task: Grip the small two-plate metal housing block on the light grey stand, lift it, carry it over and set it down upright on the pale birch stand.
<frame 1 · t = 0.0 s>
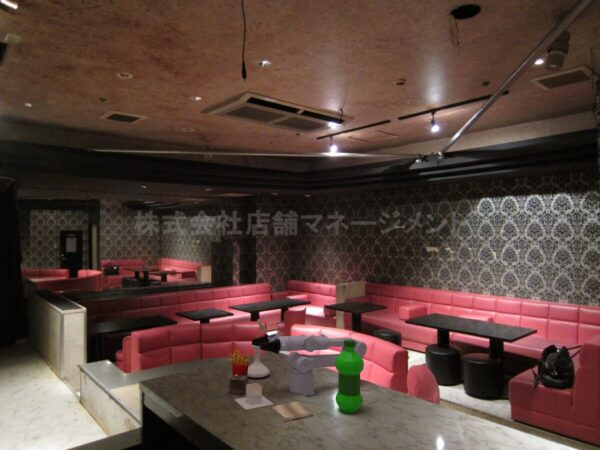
hand: (256, 344, 161), 22 cm above the table, tool horizontal, fingers open, 7 cm apart
flower in vase: (257, 375, 192), on the table
french fries: (237, 388, 176), on the table
box: (238, 396, 166), on the table
plastic bottle: (348, 410, 154), on the table
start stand: (253, 405, 157), on the table
housing: (253, 401, 157), point 1 cm above the table, touching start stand
stand: (291, 413, 150), on the table
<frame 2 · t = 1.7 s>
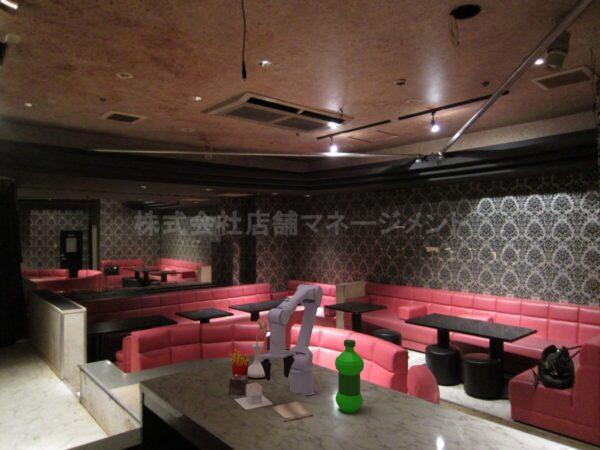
hand: (277, 378, 156), 10 cm above the table, tool pointing down, fingers open, 7 cm apart
nothing on the table moved.
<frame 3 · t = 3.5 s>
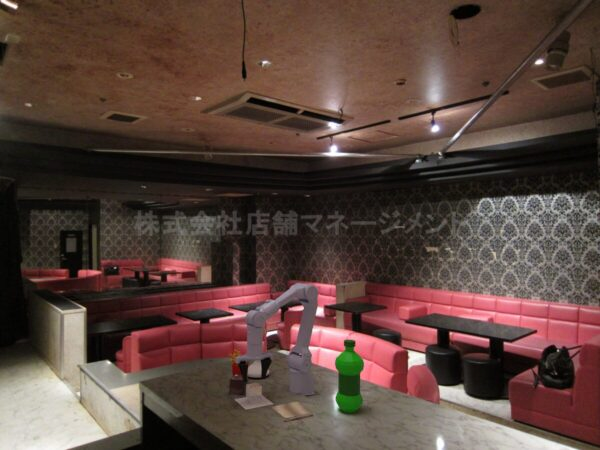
hand: (254, 380, 157), 9 cm above the table, tool pointing down, fingers open, 7 cm apart
nothing on the table moved.
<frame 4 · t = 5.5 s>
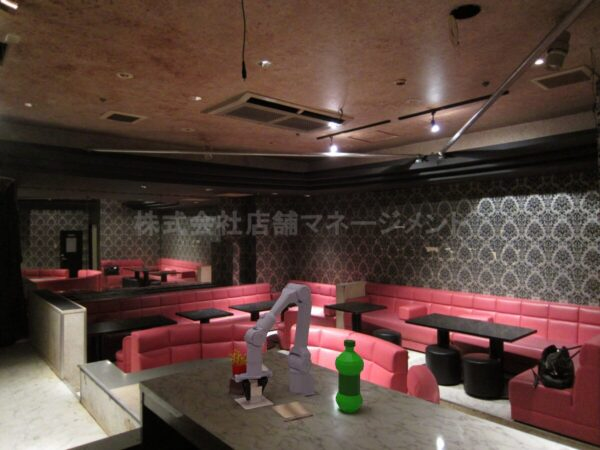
hand: (253, 398, 157), 3 cm above the table, tool pointing down, fingers closed on housing, 4 cm apart
housing: (253, 401, 157), point 1 cm above the table, touching gripper, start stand
everything else where it was.
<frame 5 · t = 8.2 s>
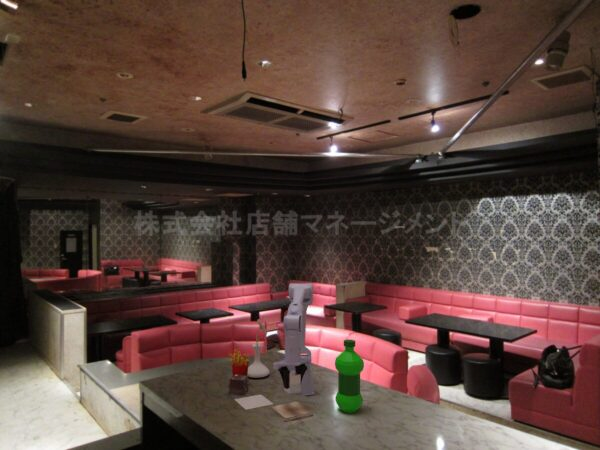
hand: (292, 386, 150), 9 cm above the table, tool pointing down, fingers closed on housing, 4 cm apart
housing: (292, 390, 150), point 8 cm above the table, touching gripper
everything else where it was.
when the fingers open (4 cm above the table, at t = 11.0 s): housing stays where it is, resting on stand.
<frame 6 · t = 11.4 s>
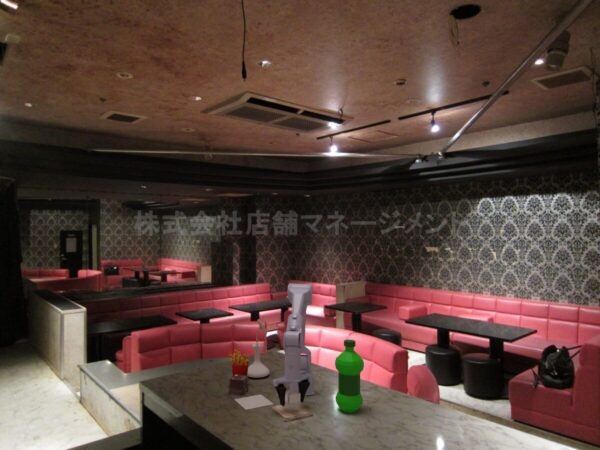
hand: (291, 403, 150), 4 cm above the table, tool pointing down, fingers open, 7 cm apart
housing: (291, 409, 150), point 1 cm above the table, touching stand
everything else where it was.
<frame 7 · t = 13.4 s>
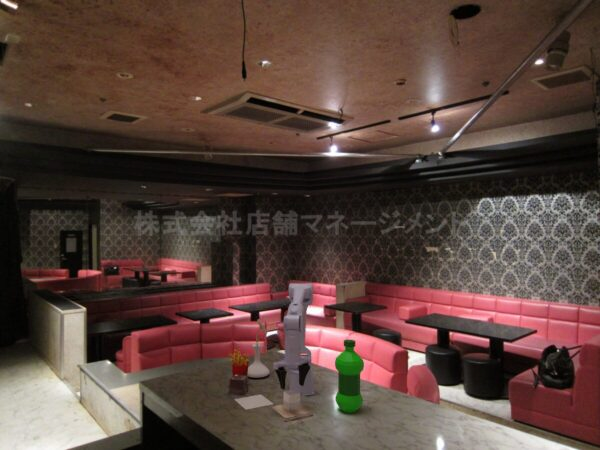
hand: (292, 386, 150), 9 cm above the table, tool pointing down, fingers open, 7 cm apart
nothing on the table moved.
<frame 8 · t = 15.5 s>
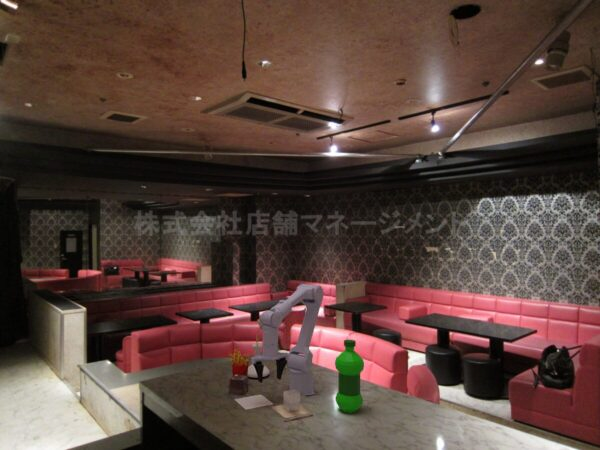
hand: (269, 380, 157), 9 cm above the table, tool pointing down, fingers open, 7 cm apart
nothing on the table moved.
at the end: housing 0.1 cm off-centre on the stand, point 1.5 cm above the stand's base; housing tilted 0°; the gripper is holding nothing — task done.
